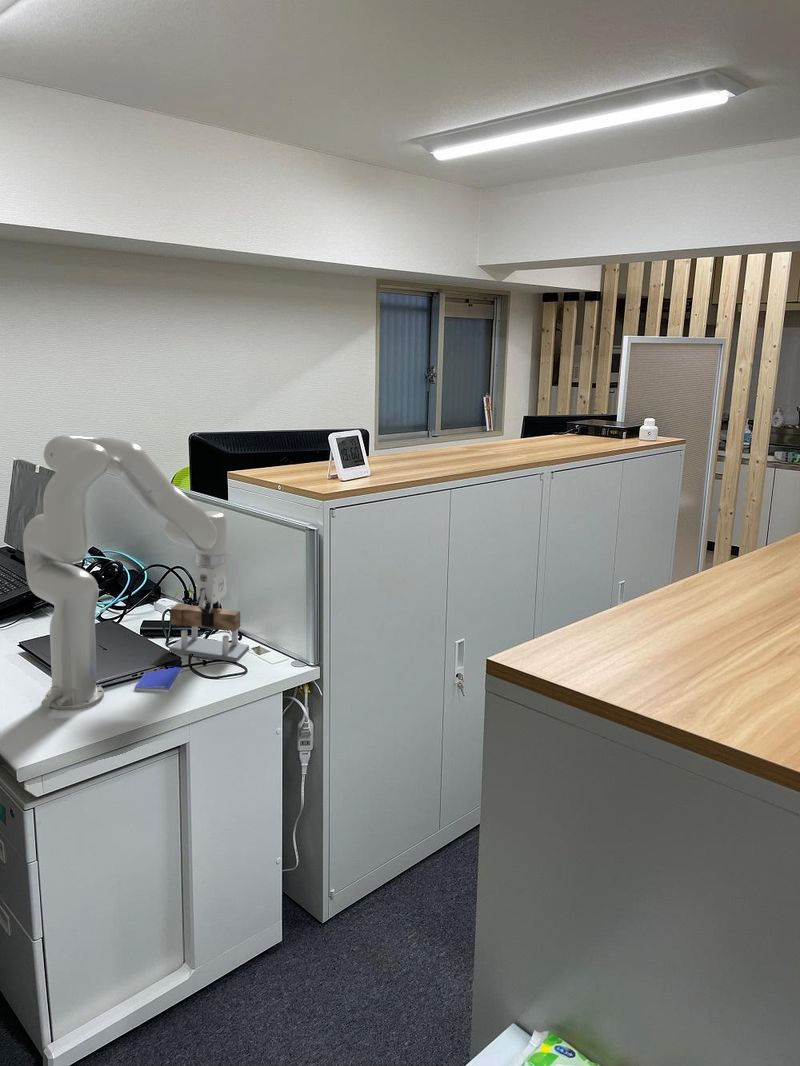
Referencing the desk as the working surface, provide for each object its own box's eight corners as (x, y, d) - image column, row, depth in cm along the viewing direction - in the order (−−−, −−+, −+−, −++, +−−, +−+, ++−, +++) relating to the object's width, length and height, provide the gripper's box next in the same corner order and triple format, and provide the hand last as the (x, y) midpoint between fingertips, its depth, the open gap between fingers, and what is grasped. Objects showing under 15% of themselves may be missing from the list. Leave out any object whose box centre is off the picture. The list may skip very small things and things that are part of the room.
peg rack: (248, 649, 217) (249, 628, 216) (236, 662, 209) (237, 640, 207) (183, 639, 220) (183, 619, 219) (169, 652, 212) (169, 630, 210)
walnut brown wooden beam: (240, 625, 214) (240, 610, 213) (234, 631, 210) (234, 615, 208) (178, 618, 217) (177, 603, 215) (171, 624, 212) (170, 608, 211)
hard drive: (168, 688, 189) (181, 667, 201) (134, 686, 189) (149, 665, 201) (168, 694, 190) (181, 672, 202) (134, 692, 189) (149, 670, 201)
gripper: (212, 569, 199) (211, 636, 204) (236, 551, 215) (235, 614, 220) (184, 565, 201) (184, 632, 205) (210, 548, 216) (209, 611, 221)
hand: (210, 622), depth 213 cm, fingers closed on walnut brown wooden beam, 3 cm apart
